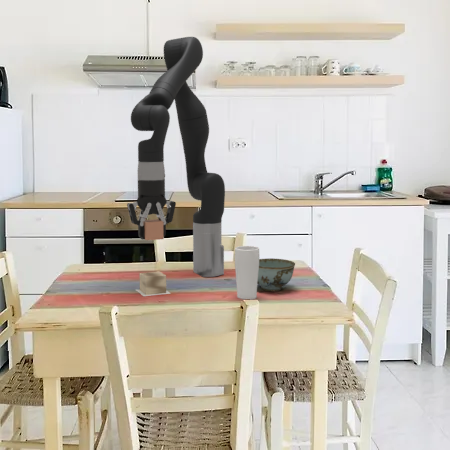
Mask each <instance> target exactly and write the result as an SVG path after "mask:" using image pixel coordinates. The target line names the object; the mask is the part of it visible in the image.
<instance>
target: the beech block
mask: <svg viewBox="0 0 450 450" xmlns="http://www.w3.org/2000/svg"><path fill="white" fill-rule="evenodd" d="M139 289H140V291H141V292H143V293H144V294H145V295H151V294H160V293H166V290H167V275H166V274H165V273H163V272H162V271H148V272H141V273H140V272H139Z"/></svg>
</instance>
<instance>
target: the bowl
mask: <svg viewBox="0 0 450 450" xmlns="http://www.w3.org/2000/svg"><path fill="white" fill-rule="evenodd" d="M295 266H296V262H294V261H292V260H290V259H289V260H288V259H283V258H259V272H258V283H257V286H258V285H259V286H260V287H261V290H263V291H267V292H278V291H281V290H282V289H283V287H284V286H285V285H287V284H288V283H289V282H290V281H291V279H292V277H293V275H294V269H295Z"/></svg>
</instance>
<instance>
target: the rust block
mask: <svg viewBox="0 0 450 450" xmlns="http://www.w3.org/2000/svg"><path fill="white" fill-rule="evenodd" d="M144 226H145V239H144V240H145V241H155V240H156V241H157V240H164V239H165V236H163V221H161V220H159V219H158V218H155V219H146V220H145V223H144Z"/></svg>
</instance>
